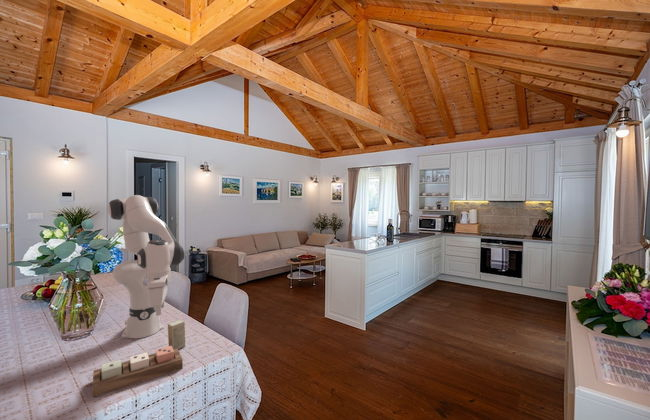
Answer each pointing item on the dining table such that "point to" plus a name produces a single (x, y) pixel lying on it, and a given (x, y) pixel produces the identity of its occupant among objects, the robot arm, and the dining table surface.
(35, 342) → the dining table surface
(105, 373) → the tile
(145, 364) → the tile
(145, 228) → the robot arm
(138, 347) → the dining table surface
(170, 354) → the three-pip tile
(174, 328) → the skincare box
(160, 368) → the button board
